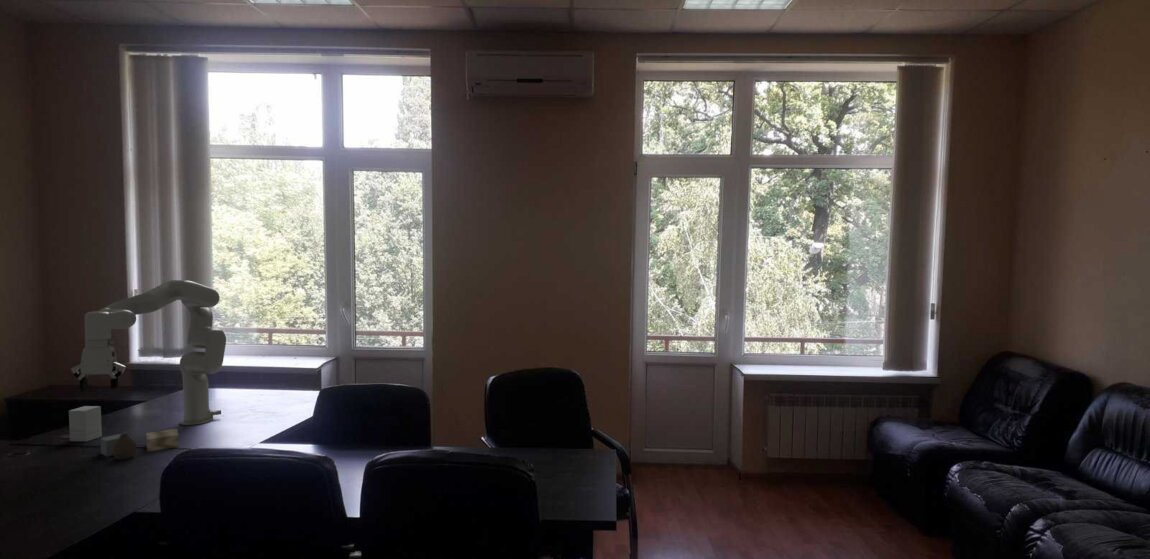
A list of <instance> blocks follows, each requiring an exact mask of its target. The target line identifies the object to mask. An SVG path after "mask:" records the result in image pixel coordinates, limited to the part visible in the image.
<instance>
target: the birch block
mask: <svg viewBox="0 0 1150 559" xmlns="http://www.w3.org/2000/svg"><path fill="white" fill-rule="evenodd" d="M179 436H180V435H179V432H178V428H171V429H166V430H165V429H164V430H160V431H159V430H158V431H152V432H146V433H145V440H146V441H145V442H146V444H145V446H146V451H147V453H149V452H154V451H161V450H167V449H172V448H173V447H174V448H178V446H179V447H180V442H179V440H180V439H179V438H180V437H179Z"/></svg>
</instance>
